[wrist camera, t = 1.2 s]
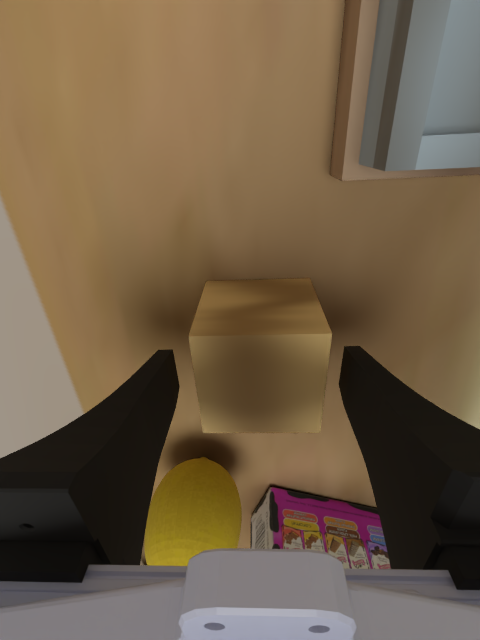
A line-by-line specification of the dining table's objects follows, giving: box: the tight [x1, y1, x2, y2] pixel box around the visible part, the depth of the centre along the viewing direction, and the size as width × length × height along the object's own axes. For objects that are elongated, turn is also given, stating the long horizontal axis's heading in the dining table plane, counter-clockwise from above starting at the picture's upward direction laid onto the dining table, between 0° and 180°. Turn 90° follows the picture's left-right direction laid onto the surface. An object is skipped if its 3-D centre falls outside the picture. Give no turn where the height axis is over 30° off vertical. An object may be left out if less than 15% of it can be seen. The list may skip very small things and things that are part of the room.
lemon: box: [145, 457, 241, 566], centre depth 19 cm, size 6×6×8 cm
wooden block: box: [188, 278, 332, 433], centre depth 14 cm, size 5×5×5 cm
